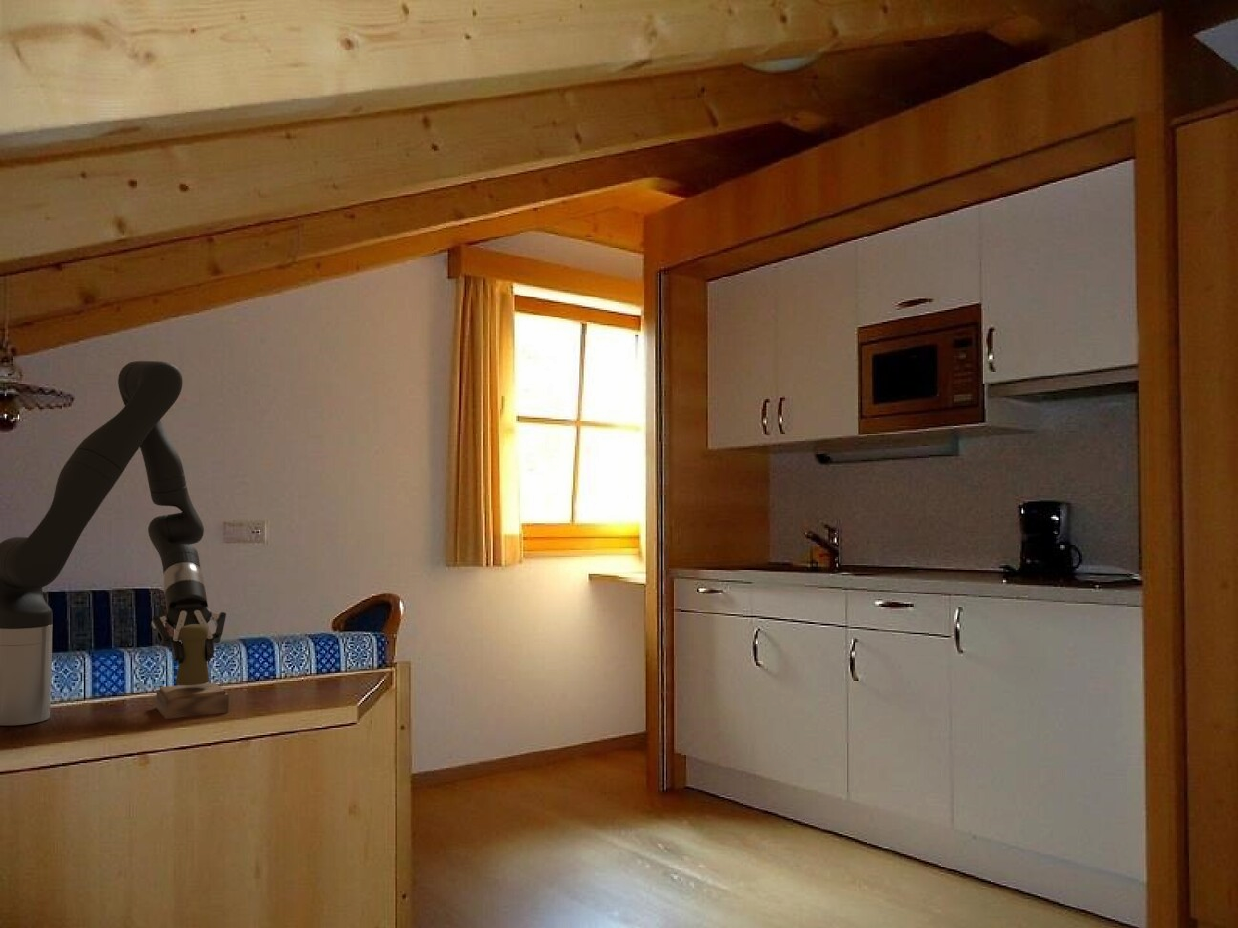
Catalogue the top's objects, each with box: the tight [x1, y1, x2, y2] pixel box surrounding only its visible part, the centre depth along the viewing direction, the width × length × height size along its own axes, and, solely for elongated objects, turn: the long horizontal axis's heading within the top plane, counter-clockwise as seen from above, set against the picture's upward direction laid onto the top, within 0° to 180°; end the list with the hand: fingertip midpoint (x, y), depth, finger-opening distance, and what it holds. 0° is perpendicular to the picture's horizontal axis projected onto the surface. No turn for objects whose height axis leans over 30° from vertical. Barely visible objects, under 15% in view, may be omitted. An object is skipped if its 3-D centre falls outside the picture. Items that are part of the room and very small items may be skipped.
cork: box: [175, 624, 211, 686], centre depth 192 cm, size 6×6×11 cm
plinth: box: [155, 681, 230, 720], centre depth 191 cm, size 11×11×4 cm
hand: (194, 659), depth 190 cm, fingers closed on cork, 4 cm apart
